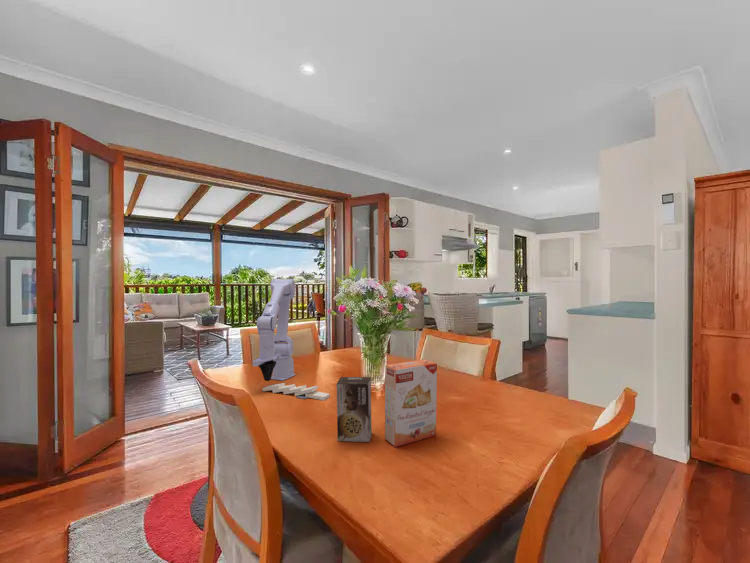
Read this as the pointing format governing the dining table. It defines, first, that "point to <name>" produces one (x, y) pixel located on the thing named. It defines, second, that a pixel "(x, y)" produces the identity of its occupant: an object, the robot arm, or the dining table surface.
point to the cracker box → (410, 401)
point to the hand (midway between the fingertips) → (267, 380)
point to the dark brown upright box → (354, 409)
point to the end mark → (302, 396)
